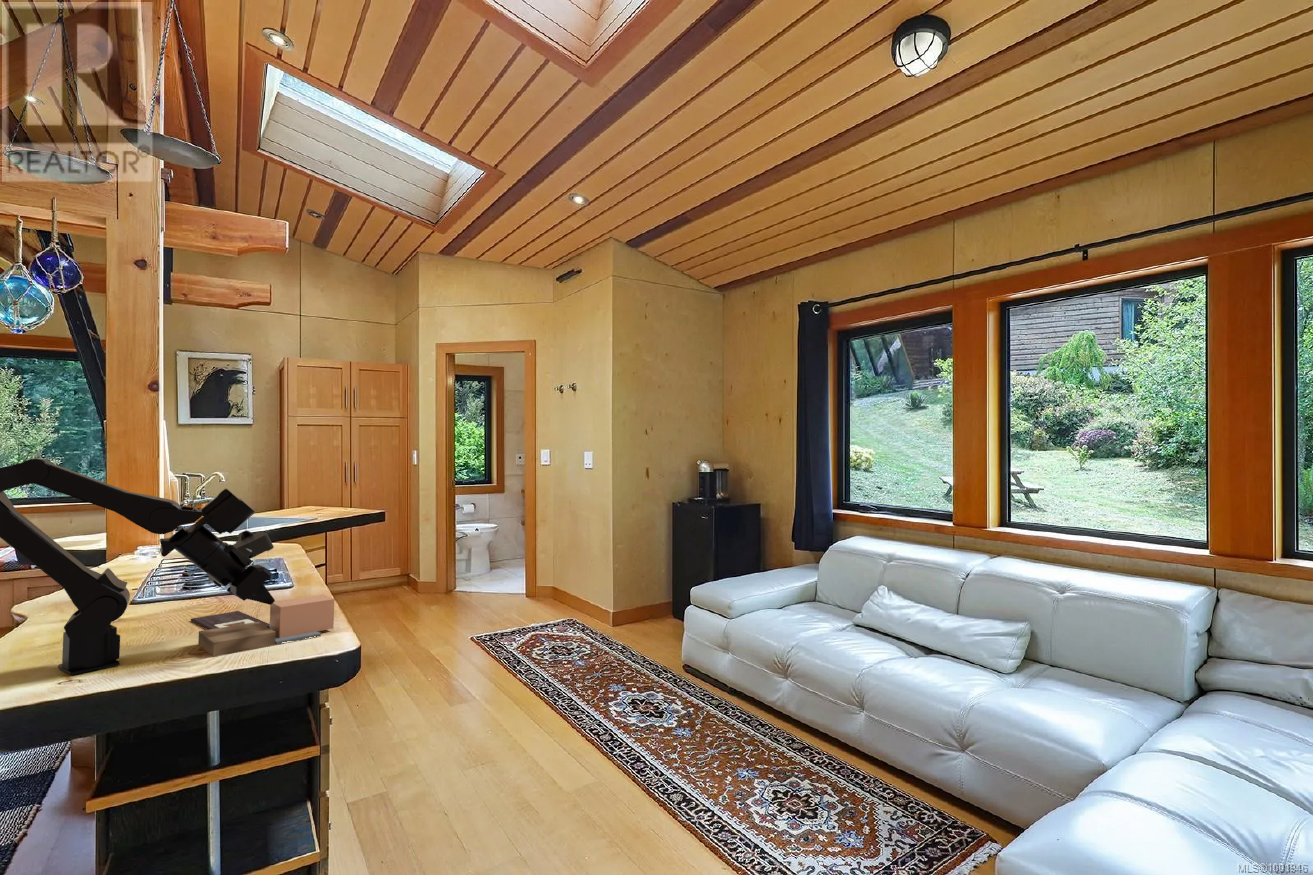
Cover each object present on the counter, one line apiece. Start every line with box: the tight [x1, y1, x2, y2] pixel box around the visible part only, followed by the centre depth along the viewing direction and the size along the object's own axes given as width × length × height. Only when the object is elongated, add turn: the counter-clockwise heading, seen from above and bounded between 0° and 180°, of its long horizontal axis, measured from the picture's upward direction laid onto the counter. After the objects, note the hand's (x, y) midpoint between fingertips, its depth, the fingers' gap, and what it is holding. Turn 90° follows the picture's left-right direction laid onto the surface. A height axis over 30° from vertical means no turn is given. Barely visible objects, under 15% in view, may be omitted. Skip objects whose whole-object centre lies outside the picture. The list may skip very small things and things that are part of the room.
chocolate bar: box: [190, 610, 270, 630], centre depth 135 cm, size 9×1×18 cm
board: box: [197, 622, 276, 657], centre depth 122 cm, size 10×10×2 cm
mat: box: [275, 631, 322, 645], centre depth 129 cm, size 8×10×1 cm
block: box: [269, 593, 335, 638], centre depth 130 cm, size 6×6×10 cm
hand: (272, 602), depth 126 cm, fingers closed
